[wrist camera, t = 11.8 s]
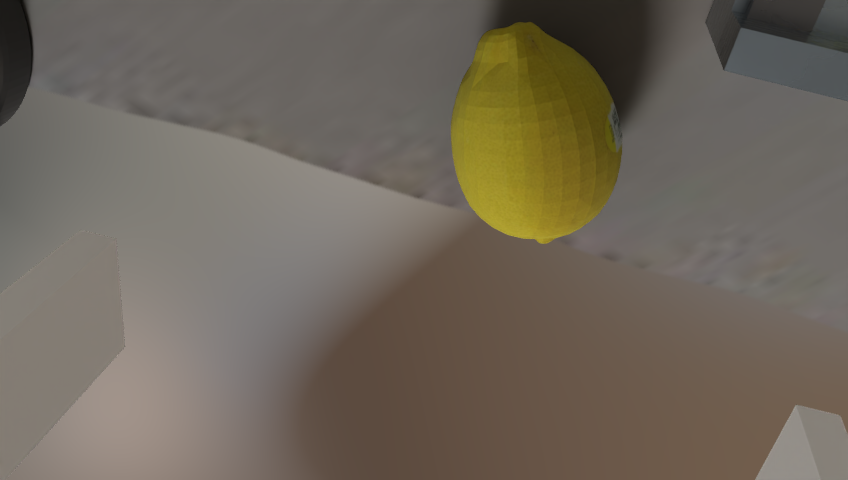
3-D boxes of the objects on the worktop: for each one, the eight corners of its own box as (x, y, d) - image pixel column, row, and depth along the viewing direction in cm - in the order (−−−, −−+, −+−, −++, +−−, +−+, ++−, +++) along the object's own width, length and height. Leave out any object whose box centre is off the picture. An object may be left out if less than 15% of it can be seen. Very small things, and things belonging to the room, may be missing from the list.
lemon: (617, 209, 40) (615, 287, 33) (472, 203, 42) (441, 276, 35) (629, -2, 35) (629, 40, 28) (464, 2, 36) (425, 42, 30)
